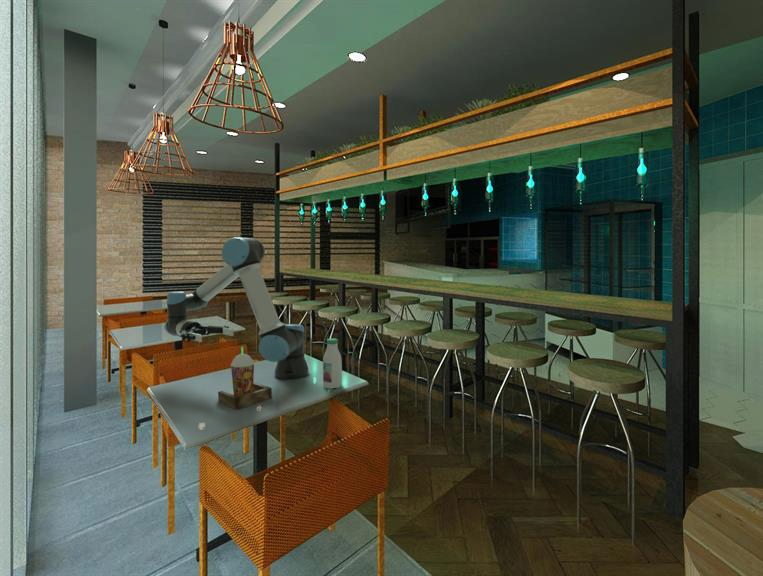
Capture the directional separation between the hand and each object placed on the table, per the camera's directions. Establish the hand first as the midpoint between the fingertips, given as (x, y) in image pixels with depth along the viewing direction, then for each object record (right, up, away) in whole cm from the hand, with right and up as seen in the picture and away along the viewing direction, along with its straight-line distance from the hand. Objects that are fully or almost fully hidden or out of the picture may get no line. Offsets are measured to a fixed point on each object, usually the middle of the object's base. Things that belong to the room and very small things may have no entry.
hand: (217, 335), depth 162 cm
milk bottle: (+44, -23, +9) cm, 51 cm away
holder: (+13, -24, -6) cm, 27 cm away
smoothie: (+12, -23, -6) cm, 27 cm away
